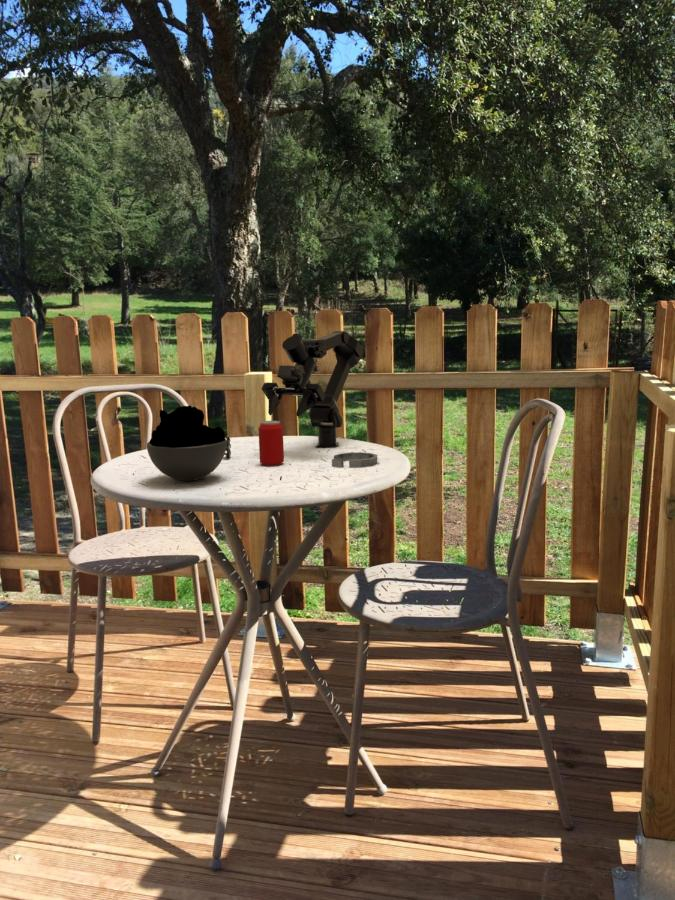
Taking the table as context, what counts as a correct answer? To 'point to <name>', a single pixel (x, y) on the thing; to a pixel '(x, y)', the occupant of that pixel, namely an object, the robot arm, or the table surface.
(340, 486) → the table surface
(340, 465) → the ring collar
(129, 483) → the table surface
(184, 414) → the coal bowl
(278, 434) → the beverage can
